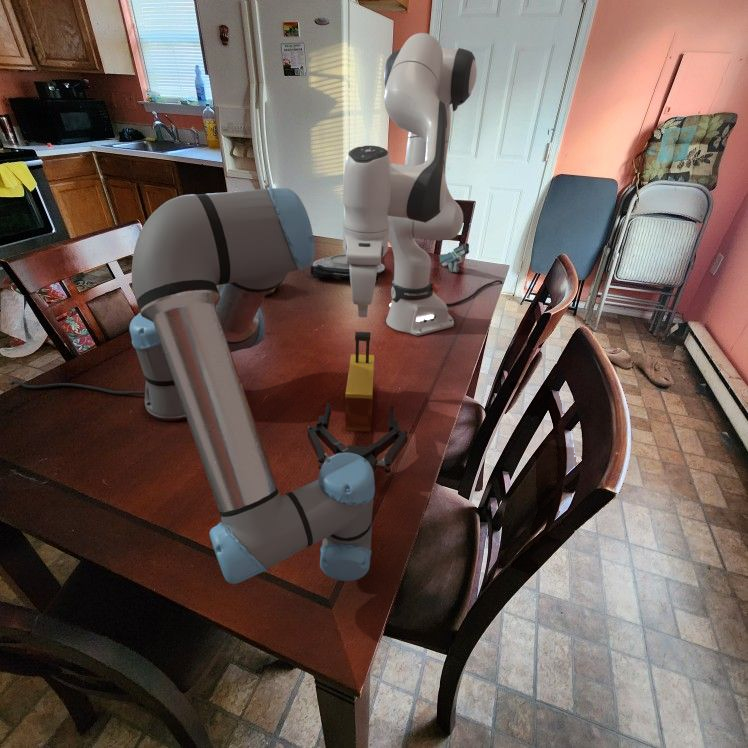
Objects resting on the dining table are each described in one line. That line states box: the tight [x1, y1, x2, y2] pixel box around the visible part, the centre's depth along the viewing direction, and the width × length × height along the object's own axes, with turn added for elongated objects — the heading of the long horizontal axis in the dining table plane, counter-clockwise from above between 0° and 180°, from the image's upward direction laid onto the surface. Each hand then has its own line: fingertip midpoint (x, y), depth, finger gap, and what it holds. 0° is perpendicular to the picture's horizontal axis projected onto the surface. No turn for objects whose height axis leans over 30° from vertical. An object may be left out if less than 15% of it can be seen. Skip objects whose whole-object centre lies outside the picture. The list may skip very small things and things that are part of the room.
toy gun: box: [439, 243, 470, 273], centre depth 173 cm, size 4×19×10 cm
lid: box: [345, 331, 376, 400], centre depth 91 cm, size 16×6×9 cm, turn 178°
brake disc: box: [310, 254, 386, 282], centre depth 171 cm, size 32×30×5 cm
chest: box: [345, 375, 375, 432], centre depth 96 cm, size 15×6×9 cm, turn 178°
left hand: (359, 409), depth 90 cm, fingers open, 13 cm apart
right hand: (364, 305), depth 89 cm, fingers open, 8 cm apart
